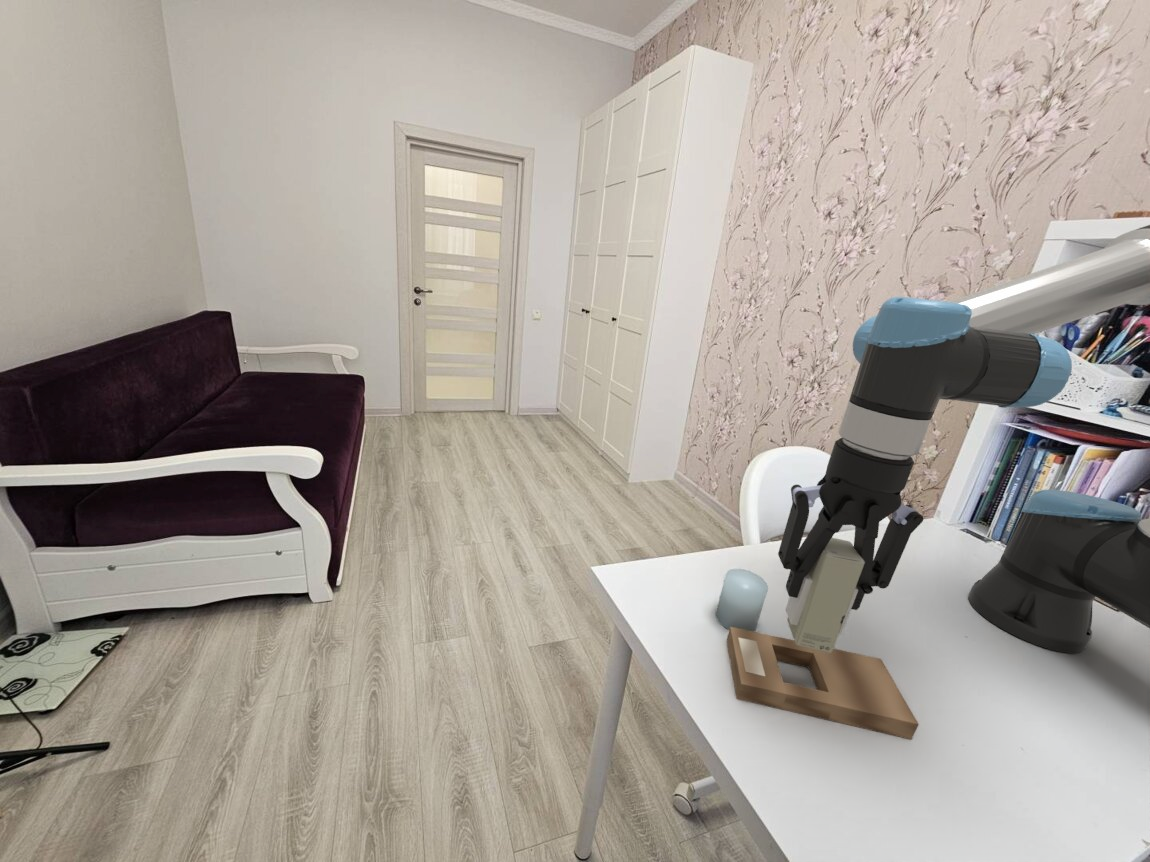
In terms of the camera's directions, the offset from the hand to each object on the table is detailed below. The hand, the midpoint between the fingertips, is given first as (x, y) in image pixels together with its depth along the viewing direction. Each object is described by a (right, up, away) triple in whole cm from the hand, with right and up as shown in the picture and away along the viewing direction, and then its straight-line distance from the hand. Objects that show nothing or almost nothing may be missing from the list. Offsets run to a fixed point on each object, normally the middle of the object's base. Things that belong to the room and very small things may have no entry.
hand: (812, 621), depth 58 cm
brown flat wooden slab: (+1, -9, +3) cm, 10 cm away
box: (0, -2, +1) cm, 2 cm away
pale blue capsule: (-5, -5, +13) cm, 15 cm away
